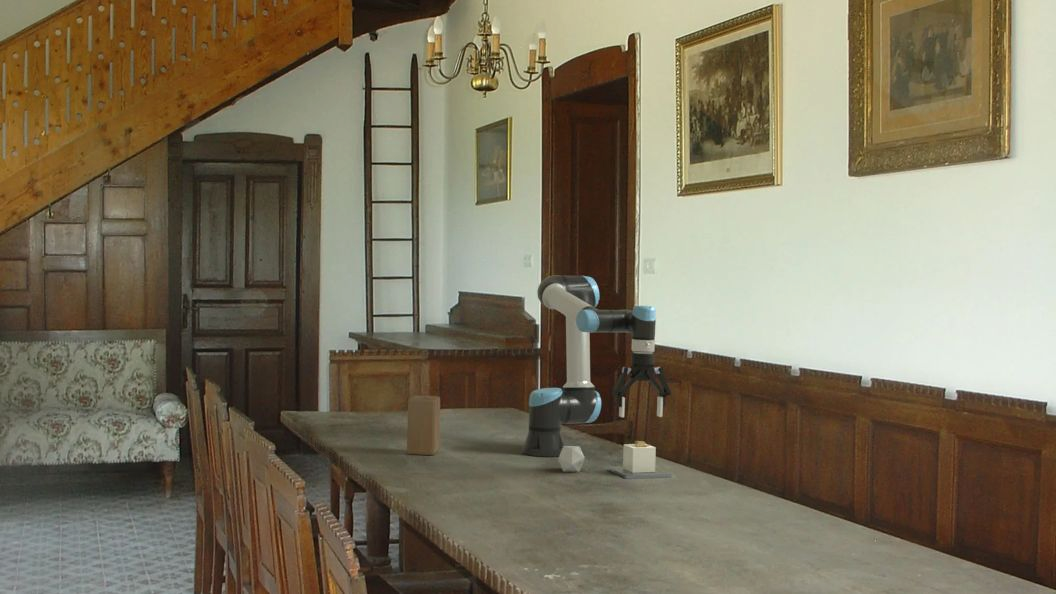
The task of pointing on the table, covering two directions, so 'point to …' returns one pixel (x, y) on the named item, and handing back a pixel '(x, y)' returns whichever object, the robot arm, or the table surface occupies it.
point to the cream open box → (639, 458)
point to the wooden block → (423, 425)
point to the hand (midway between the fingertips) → (640, 416)
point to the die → (571, 459)
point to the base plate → (630, 475)
